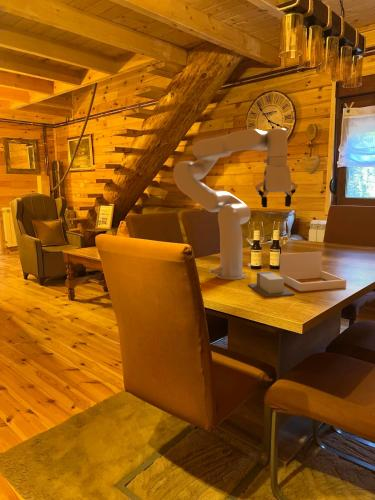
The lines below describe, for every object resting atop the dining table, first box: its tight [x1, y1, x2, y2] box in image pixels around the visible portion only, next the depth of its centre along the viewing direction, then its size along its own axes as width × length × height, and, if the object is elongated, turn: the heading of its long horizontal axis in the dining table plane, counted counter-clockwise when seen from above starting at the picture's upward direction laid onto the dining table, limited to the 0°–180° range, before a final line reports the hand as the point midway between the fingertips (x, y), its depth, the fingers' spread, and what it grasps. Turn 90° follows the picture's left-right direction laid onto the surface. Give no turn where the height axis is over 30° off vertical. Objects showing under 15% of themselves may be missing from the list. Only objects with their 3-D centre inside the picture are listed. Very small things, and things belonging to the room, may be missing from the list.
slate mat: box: [247, 282, 295, 298], centre depth 139 cm, size 11×17×1 cm, turn 11°
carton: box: [279, 251, 347, 292], centre depth 146 cm, size 19×18×11 cm
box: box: [256, 271, 285, 293], centre depth 139 cm, size 6×12×5 cm, turn 11°
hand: (276, 206), depth 146 cm, fingers open, 9 cm apart
